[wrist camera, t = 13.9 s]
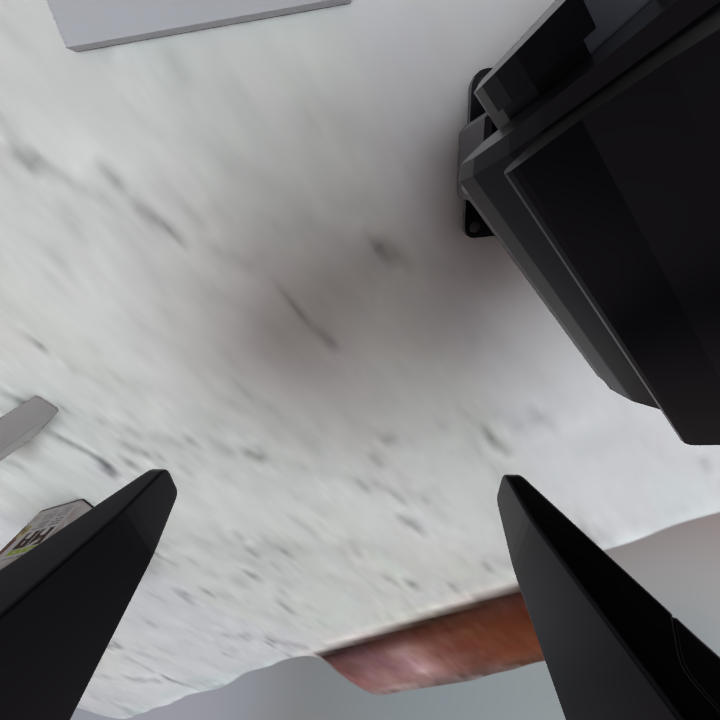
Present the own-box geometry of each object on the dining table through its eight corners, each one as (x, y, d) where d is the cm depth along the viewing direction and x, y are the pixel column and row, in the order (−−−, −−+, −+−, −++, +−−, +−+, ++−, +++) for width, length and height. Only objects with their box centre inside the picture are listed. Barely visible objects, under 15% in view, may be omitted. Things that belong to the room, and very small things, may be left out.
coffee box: (36, 511, 31) (-253, 790, 17) (84, 497, 29) (-190, 790, 15) (106, 562, 35) (-80, 821, 21) (151, 551, 33) (-17, 823, 19)
